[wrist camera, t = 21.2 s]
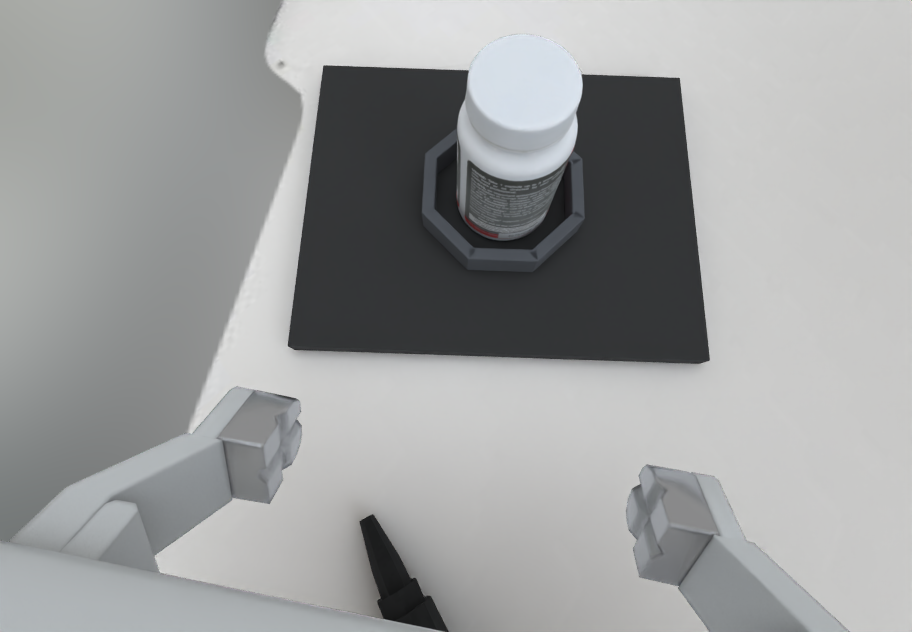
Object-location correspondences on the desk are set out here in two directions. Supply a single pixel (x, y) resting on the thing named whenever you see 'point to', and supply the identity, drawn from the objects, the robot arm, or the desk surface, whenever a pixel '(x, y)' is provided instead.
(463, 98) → the socket pad
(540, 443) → the desk surface
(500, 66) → the pill bottle
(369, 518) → the microphone
